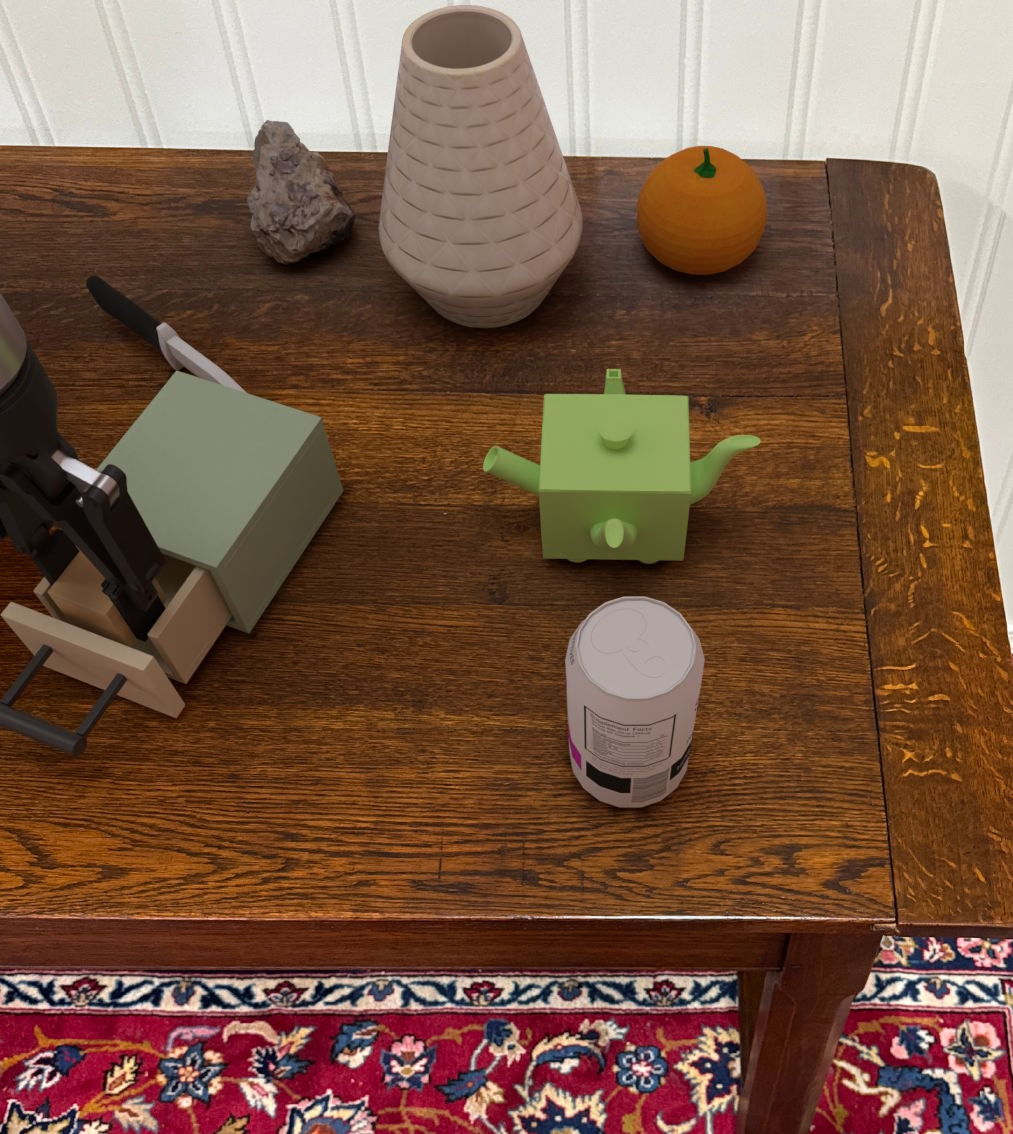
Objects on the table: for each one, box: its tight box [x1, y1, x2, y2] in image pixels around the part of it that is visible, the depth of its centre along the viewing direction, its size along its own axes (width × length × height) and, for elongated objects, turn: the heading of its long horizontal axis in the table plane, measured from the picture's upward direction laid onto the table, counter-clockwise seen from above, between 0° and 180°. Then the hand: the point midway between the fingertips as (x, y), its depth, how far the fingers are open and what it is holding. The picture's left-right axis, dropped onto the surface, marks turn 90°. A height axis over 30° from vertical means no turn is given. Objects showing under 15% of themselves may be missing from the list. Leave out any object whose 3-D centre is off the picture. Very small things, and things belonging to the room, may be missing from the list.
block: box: [48, 551, 167, 648], centre depth 77 cm, size 5×5×5 cm
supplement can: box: [564, 595, 706, 808], centre depth 72 cm, size 8×8×15 cm
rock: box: [246, 119, 357, 265], centre depth 103 cm, size 9×12×10 cm
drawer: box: [0, 546, 233, 758], centre depth 80 cm, size 20×11×7 cm, turn 157°
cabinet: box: [95, 370, 344, 634], centre depth 85 cm, size 15×13×9 cm
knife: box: [85, 275, 247, 393], centre depth 95 cm, size 25×2×5 cm, turn 50°
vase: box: [377, 4, 584, 329], centre depth 93 cm, size 17×17×23 cm
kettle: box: [482, 368, 762, 564], centre depth 84 cm, size 15×14×11 cm
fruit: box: [636, 145, 768, 276], centre depth 101 cm, size 12×12×10 cm
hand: (119, 612), depth 79 cm, fingers closed on block, 5 cm apart
